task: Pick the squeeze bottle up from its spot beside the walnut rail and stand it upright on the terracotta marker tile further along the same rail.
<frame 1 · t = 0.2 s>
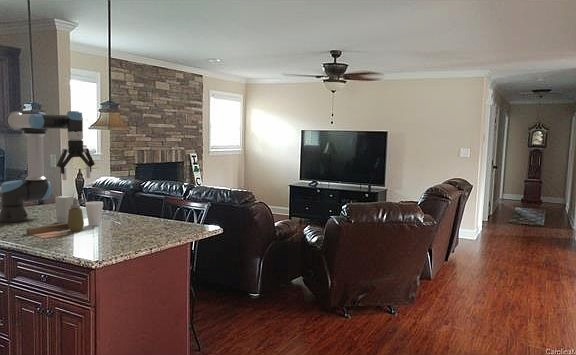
hand: (76, 179, 257), 28 cm above the counter, tool pointing down, fingers open, 13 cm apart
foam cup: (94, 225, 272), on the counter
skincare box: (65, 223, 277), on the counter
squeeze bottle: (76, 231, 256), on the counter
rail: (63, 232, 251), on the counter
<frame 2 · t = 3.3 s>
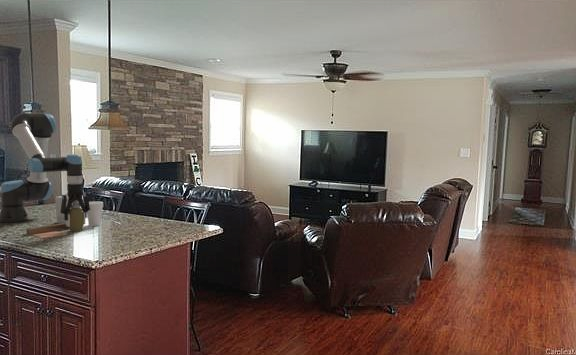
hand: (75, 224, 256), 3 cm above the counter, tool pointing down, fingers closed on squeeze bottle, 8 cm apart
squeeze bottle: (76, 231, 256), on the counter, touching gripper
everything else where it was.
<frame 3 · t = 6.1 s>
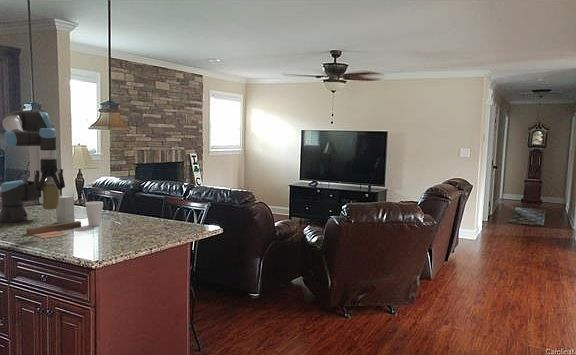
hand: (49, 202, 244), 17 cm above the counter, tool pointing down, fingers closed on squeeze bottle, 8 cm apart
squeeze bottle: (50, 209, 244), point 14 cm above the counter, touching gripper
everything else where it was.
when the fingers open (5 cm above the counter, at t = 8.9 s): squeeze bottle drops 1 cm, resting on rail.
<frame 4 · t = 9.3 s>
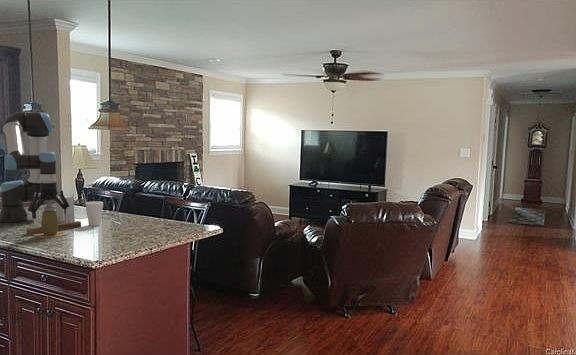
hand: (49, 222, 244), 6 cm above the counter, tool pointing down, fingers open, 13 cm apart
squeeze bottle: (50, 234, 245), resting on rail
everything else where it was.
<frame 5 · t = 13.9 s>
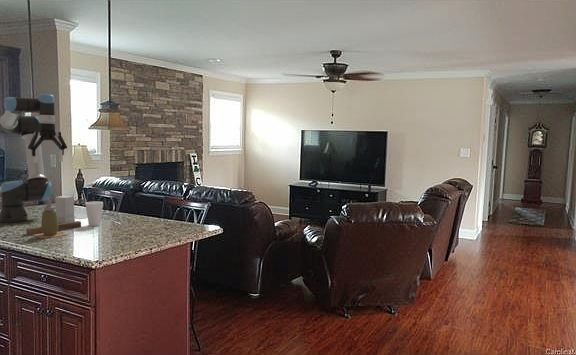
hand: (48, 161, 259), 37 cm above the counter, tool pointing down, fingers open, 13 cm apart
nothing on the counter moved.
at the end: squeeze bottle inside the target area (0.0 cm from its centre), resting on rail; squeeze bottle tilted 0°; the gripper is holding nothing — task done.
